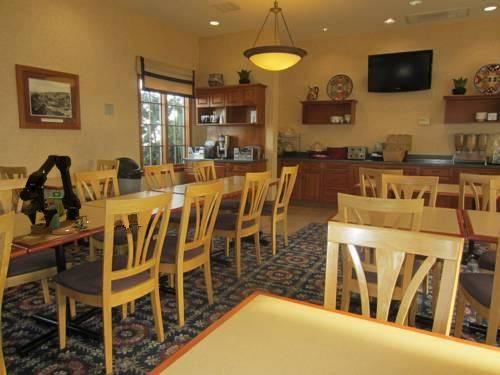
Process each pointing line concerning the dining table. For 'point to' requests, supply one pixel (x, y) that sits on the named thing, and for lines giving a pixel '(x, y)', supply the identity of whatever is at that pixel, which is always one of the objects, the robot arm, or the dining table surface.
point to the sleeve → (40, 228)
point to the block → (55, 222)
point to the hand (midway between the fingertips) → (40, 226)
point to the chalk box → (56, 203)
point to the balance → (81, 222)
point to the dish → (63, 231)
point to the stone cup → (131, 218)
